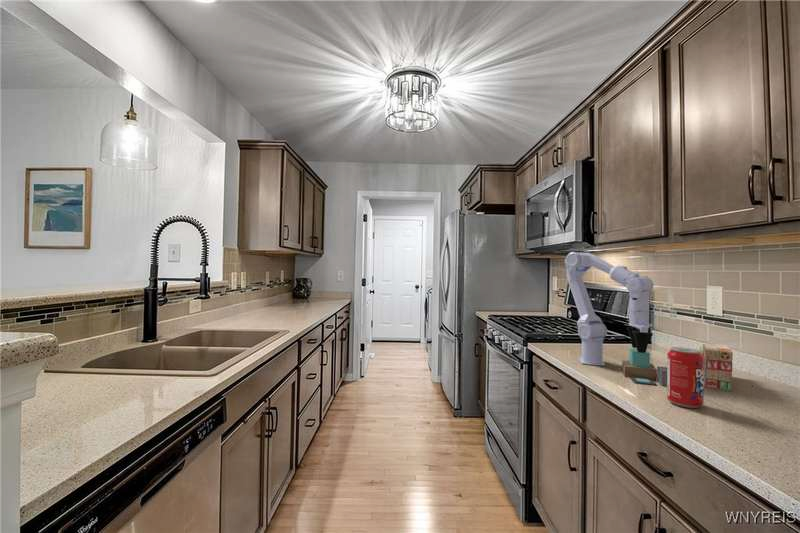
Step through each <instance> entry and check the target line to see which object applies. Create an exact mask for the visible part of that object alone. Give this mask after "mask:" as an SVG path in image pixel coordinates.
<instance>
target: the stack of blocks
mask: <svg viewBox="0 0 800 533" xmlns="http://www.w3.org/2000/svg"><path fill="white" fill-rule="evenodd" d="M699 351H701V355H702V356H703V357H704V388H707V389H713V390H720V391H727V392H732V390H733V356H734V353H733V351H732V349H731V348H730V347H729V346H727V344H718V343H708V342H702V346H701V347H699Z"/></svg>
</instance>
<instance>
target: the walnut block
mask: <svg viewBox="0 0 800 533" xmlns="http://www.w3.org/2000/svg"><path fill="white" fill-rule="evenodd" d="M621 361H622V362H621V369H622V370H621V371H622V374H623V377H625V378H630V377H636V378H646V379H652V380H653V381H654V382H657V368H656V367H655V366H654V364H653V363H650V368H647V367H638V366H632V365H631V364H630V360H624V359H623V360H621Z"/></svg>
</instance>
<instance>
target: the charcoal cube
mask: <svg viewBox="0 0 800 533" xmlns="http://www.w3.org/2000/svg"><path fill="white" fill-rule="evenodd" d="M656 370H657V381H656V382H657V383H658V384H659V385H660V386H661V387H667V366H657V368H656Z"/></svg>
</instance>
